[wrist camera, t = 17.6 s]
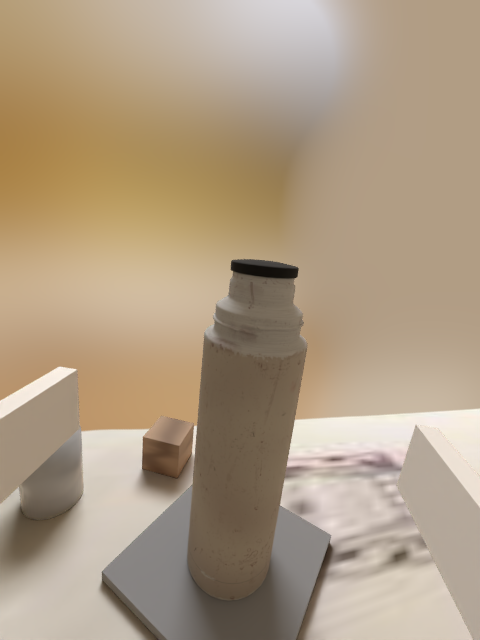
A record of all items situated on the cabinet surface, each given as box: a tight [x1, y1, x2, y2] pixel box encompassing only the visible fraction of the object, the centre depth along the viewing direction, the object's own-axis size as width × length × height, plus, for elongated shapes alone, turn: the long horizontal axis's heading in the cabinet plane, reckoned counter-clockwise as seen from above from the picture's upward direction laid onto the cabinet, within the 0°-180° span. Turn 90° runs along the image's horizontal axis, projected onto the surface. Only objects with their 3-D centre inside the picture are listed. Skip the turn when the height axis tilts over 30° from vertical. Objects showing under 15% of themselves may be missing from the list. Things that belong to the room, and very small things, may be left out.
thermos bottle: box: [187, 259, 307, 601], centre depth 25 cm, size 8×8×28 cm
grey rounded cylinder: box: [19, 427, 83, 520], centre depth 33 cm, size 6×6×8 cm
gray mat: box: [102, 484, 331, 640], centre depth 29 cm, size 16×16×1 cm
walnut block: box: [142, 416, 194, 478], centre depth 40 cm, size 5×5×5 cm
